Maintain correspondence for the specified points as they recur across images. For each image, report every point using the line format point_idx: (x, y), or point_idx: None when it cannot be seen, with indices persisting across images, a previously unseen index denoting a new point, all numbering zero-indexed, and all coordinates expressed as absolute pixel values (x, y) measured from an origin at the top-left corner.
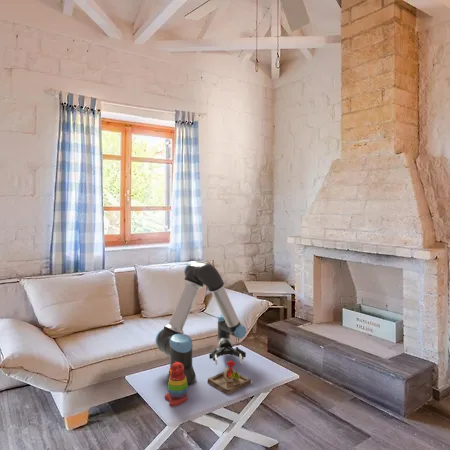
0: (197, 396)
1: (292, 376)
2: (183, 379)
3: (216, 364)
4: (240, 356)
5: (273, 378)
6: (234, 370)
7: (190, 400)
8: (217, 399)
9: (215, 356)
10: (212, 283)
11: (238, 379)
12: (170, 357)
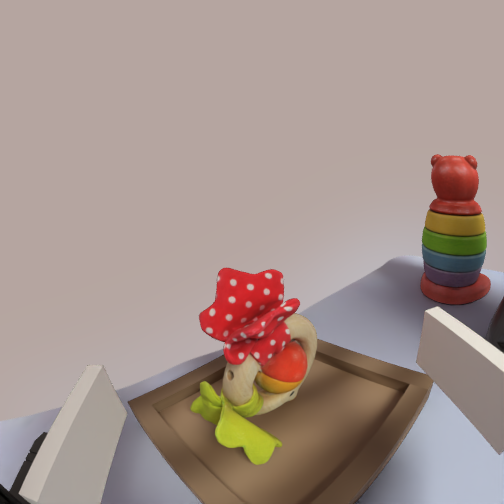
0: (403, 312)
1: None
2: (429, 210)
3: (421, 357)
4: (75, 413)
5: (9, 439)
6: (225, 372)
7: (411, 295)
8: (319, 316)
9: (500, 354)
10: None
11: (207, 438)
12: None
